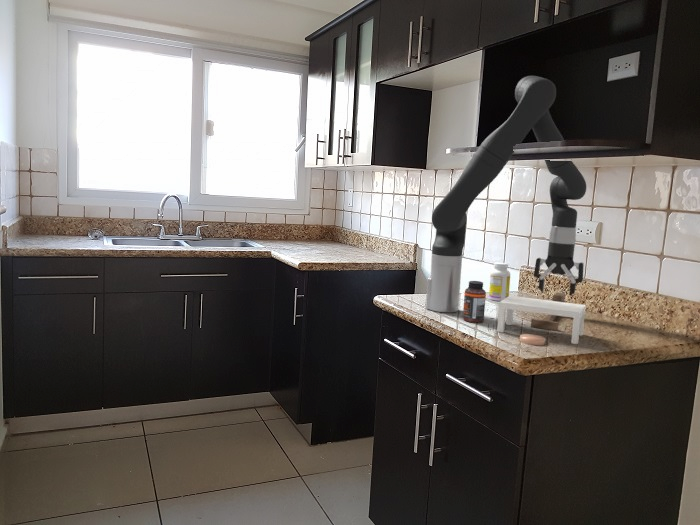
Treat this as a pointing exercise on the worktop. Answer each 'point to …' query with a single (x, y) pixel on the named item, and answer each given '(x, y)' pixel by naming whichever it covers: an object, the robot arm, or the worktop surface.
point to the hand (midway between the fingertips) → (556, 293)
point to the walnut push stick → (549, 316)
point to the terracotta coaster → (532, 339)
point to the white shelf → (542, 307)
